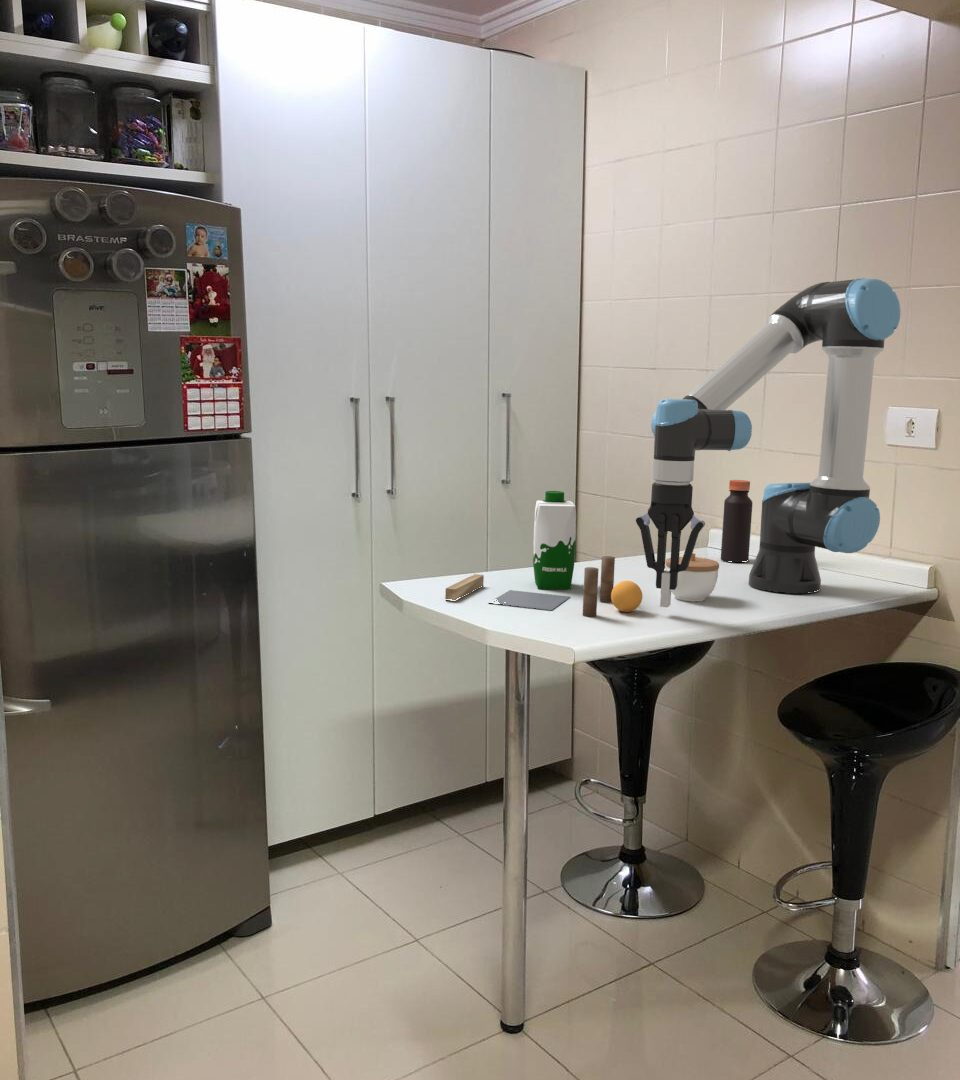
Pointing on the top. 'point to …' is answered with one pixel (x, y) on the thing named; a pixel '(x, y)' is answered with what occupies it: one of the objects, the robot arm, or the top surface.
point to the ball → (626, 596)
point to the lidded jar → (695, 579)
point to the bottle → (737, 522)
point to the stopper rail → (464, 587)
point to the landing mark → (531, 599)
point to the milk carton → (554, 541)
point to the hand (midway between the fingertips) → (665, 605)
